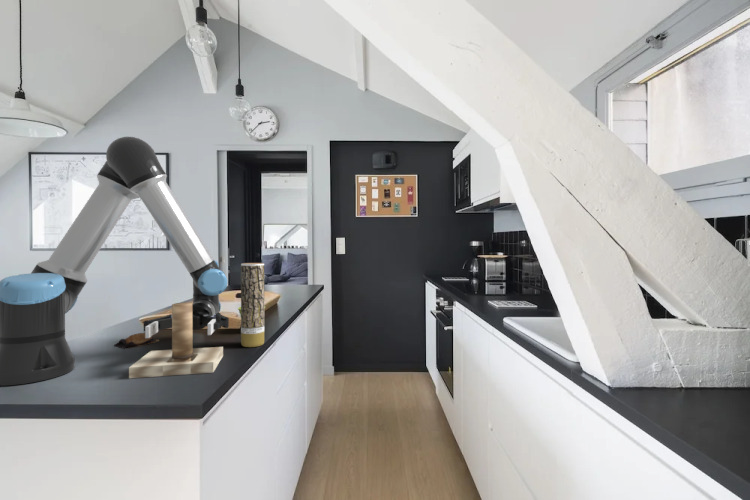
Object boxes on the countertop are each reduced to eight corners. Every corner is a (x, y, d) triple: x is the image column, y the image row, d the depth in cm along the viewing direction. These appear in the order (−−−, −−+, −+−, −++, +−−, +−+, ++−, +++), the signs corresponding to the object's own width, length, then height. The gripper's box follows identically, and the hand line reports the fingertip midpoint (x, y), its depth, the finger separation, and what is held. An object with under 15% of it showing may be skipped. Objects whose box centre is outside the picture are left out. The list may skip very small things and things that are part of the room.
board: (129, 378, 86) (128, 367, 86) (150, 360, 99) (150, 350, 99) (213, 372, 90) (213, 362, 90) (223, 355, 103) (223, 346, 103)
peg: (169, 372, 90) (168, 305, 90) (174, 366, 95) (174, 302, 95) (190, 370, 91) (190, 305, 91) (195, 364, 96) (194, 302, 96)
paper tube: (268, 345, 115) (268, 263, 114) (246, 349, 110) (246, 264, 110) (258, 341, 120) (258, 262, 119) (237, 344, 115) (237, 263, 115)
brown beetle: (145, 340, 123) (145, 329, 123) (161, 343, 119) (161, 331, 119) (110, 348, 114) (110, 335, 114) (127, 351, 110) (126, 338, 110)
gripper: (243, 325, 113) (233, 343, 93) (152, 329, 108) (119, 349, 87) (243, 300, 113) (233, 313, 92) (152, 303, 107) (119, 317, 87)
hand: (178, 331), depth 90 cm, fingers open, 13 cm apart
